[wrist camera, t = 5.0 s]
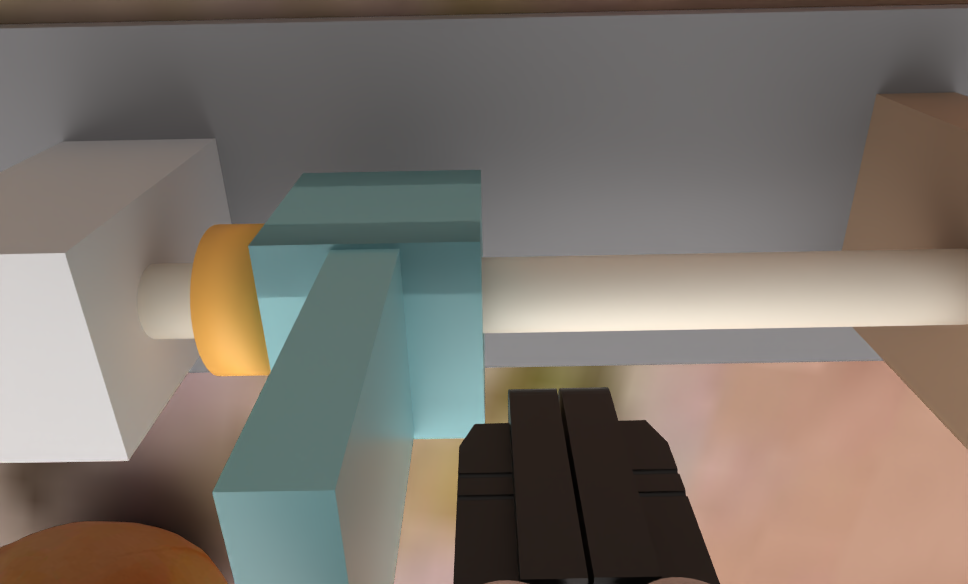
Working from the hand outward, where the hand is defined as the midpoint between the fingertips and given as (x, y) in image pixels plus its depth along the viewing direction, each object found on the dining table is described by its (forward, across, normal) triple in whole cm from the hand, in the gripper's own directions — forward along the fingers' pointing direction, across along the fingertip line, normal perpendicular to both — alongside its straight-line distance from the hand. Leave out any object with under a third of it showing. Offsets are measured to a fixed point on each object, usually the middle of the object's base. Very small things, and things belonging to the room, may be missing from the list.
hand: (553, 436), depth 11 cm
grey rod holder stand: (+11, +1, 0) cm, 11 cm away
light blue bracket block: (+7, +3, 0) cm, 7 cm away
